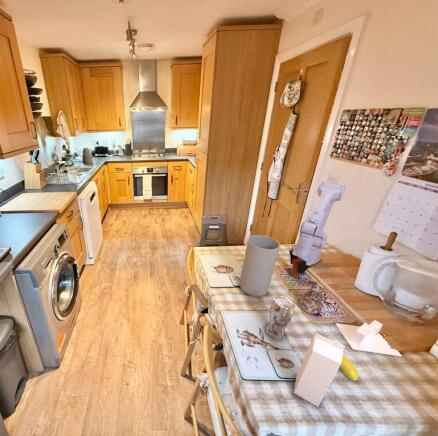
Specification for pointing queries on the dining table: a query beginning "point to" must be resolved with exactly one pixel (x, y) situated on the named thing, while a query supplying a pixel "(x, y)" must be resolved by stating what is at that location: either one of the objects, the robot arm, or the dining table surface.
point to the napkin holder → (367, 338)
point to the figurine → (312, 299)
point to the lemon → (349, 368)
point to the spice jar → (294, 272)
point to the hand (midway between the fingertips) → (296, 268)
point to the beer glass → (280, 316)
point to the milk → (318, 369)
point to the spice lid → (296, 261)
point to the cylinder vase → (258, 264)
